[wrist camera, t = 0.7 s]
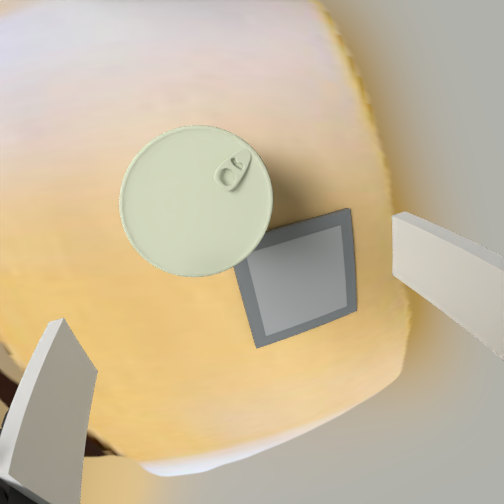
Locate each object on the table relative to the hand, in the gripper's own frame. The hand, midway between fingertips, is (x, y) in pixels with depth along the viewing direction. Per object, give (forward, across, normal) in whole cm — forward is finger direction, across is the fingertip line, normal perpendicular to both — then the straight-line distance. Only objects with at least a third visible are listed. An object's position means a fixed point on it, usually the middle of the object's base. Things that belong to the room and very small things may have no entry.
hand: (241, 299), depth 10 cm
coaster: (+19, +8, -12) cm, 24 cm away
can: (+20, 0, +2) cm, 20 cm away
